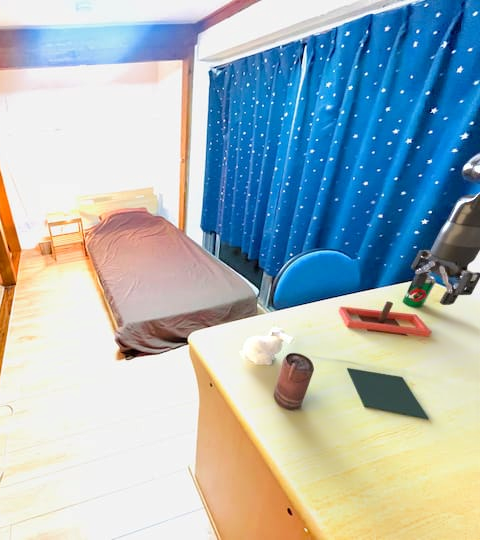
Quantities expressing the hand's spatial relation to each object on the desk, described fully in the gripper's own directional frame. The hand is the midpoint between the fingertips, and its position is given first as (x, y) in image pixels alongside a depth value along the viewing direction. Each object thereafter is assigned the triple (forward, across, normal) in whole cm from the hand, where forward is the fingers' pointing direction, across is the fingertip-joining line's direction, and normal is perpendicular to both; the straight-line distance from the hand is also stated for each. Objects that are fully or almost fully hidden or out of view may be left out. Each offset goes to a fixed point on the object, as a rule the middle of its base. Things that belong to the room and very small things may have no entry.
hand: (430, 294), depth 75 cm
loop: (+16, +8, +2) cm, 18 cm away
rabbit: (+17, -6, +42) cm, 46 cm away
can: (+17, -21, +42) cm, 50 cm away
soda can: (+18, +18, -15) cm, 29 cm away
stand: (+17, +8, +2) cm, 19 cm away
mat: (+17, -18, +18) cm, 30 cm away
